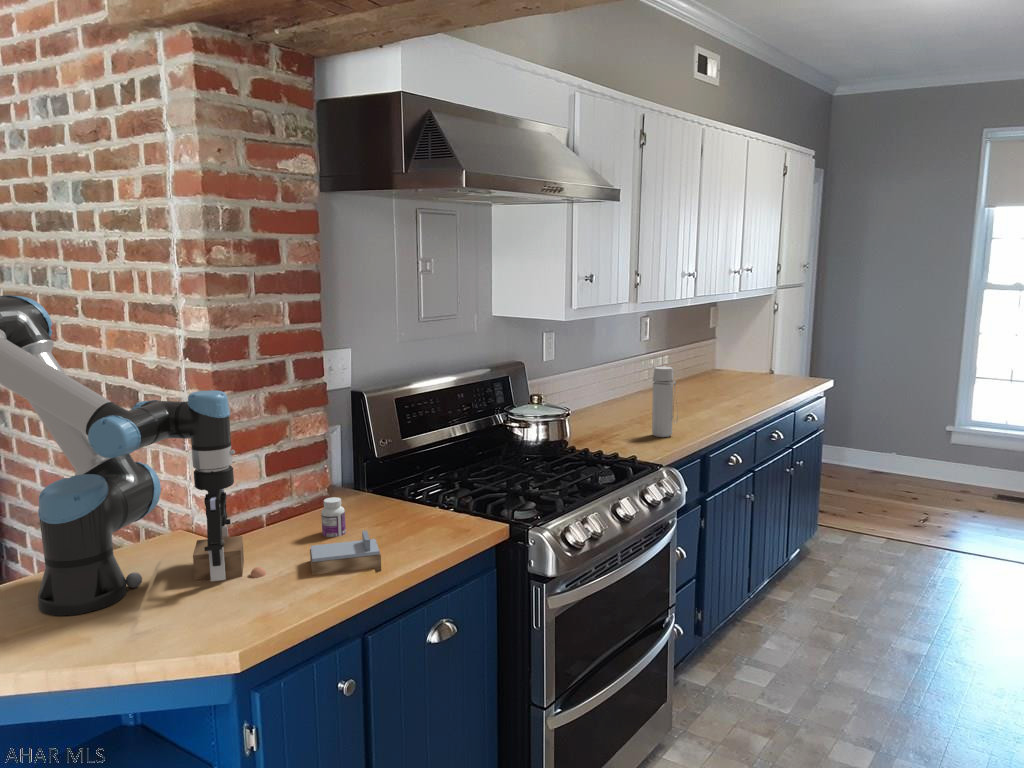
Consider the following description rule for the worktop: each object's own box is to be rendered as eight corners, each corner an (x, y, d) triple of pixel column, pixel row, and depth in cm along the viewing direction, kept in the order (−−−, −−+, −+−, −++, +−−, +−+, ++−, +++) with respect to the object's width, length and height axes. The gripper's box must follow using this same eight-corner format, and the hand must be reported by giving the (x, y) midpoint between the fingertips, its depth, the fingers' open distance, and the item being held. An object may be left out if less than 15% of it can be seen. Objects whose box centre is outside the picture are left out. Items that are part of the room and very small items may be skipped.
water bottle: (651, 437, 286) (653, 369, 282) (651, 433, 293) (652, 366, 289) (677, 438, 284) (679, 369, 280) (677, 433, 292) (678, 366, 288)
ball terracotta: (250, 585, 160) (249, 571, 159) (251, 579, 162) (250, 565, 162) (266, 583, 160) (265, 569, 160) (266, 577, 163) (265, 563, 163)
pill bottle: (336, 533, 189) (334, 494, 188) (350, 538, 186) (348, 498, 184) (317, 540, 185) (315, 500, 184) (332, 544, 182) (330, 504, 180)
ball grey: (120, 584, 157) (130, 573, 157) (123, 578, 160) (133, 567, 160) (133, 593, 158) (143, 581, 158) (136, 586, 161) (146, 575, 161)
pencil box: (312, 581, 161) (311, 562, 160) (310, 567, 169) (309, 549, 168) (381, 573, 165) (380, 555, 164) (376, 559, 172) (376, 542, 172)
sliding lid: (312, 562, 161) (311, 547, 160) (310, 548, 168) (310, 534, 167) (379, 554, 164) (379, 540, 164) (375, 541, 172) (374, 528, 171)
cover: (195, 588, 158) (192, 550, 157) (199, 572, 167) (196, 535, 165) (242, 583, 161) (240, 545, 159) (244, 566, 169) (242, 531, 168)
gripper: (229, 481, 149) (236, 588, 153) (235, 451, 173) (242, 544, 176) (186, 485, 147) (195, 593, 150) (199, 454, 171) (206, 548, 174)
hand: (220, 567), depth 163 cm, fingers open, 13 cm apart
